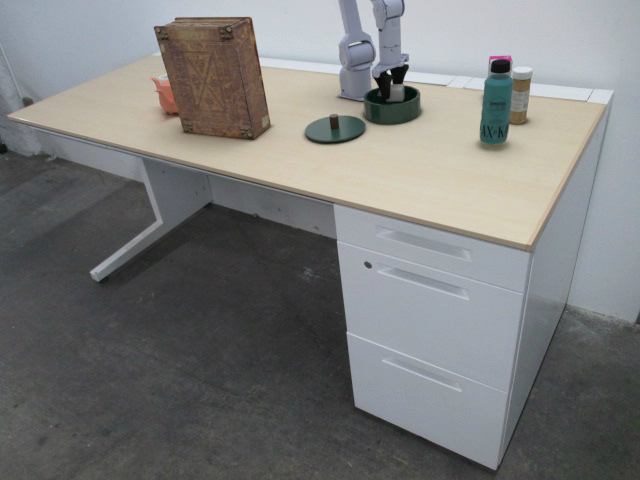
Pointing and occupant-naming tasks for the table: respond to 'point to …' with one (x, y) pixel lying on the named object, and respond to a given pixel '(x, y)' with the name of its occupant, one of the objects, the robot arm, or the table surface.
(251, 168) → the table surface
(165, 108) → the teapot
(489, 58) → the supplement box
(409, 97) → the pot
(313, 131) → the lid
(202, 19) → the book
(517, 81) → the sprinkles bottle
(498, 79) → the beverage bottle
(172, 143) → the table surface
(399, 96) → the usb wall charger
